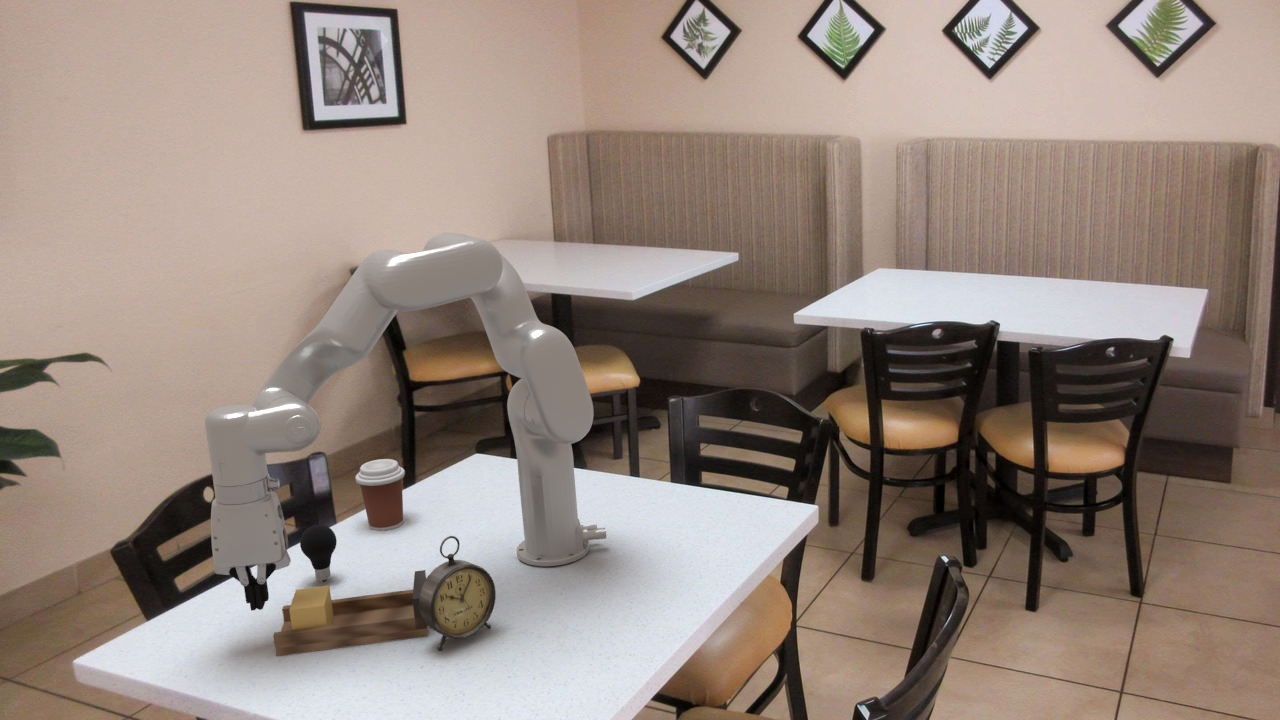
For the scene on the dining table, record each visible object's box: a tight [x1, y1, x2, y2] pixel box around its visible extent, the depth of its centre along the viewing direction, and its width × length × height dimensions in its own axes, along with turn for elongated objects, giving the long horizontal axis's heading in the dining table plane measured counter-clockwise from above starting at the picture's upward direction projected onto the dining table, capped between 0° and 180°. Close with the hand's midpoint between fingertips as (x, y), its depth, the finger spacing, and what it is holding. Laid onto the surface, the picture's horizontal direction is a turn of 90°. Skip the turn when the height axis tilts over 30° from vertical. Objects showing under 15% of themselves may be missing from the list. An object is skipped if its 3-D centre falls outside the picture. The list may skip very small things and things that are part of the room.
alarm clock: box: [419, 535, 497, 652], centre depth 160 cm, size 11×5×16 cm, turn 131°
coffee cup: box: [354, 458, 406, 532], centre depth 207 cm, size 9×9×12 cm
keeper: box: [289, 585, 334, 630], centre depth 165 cm, size 5×7×5 cm
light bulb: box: [299, 524, 338, 582], centre depth 184 cm, size 6×6×10 cm
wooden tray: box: [272, 569, 429, 657], centre depth 166 cm, size 22×10×6 cm, turn 99°
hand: (258, 605), depth 163 cm, fingers closed
